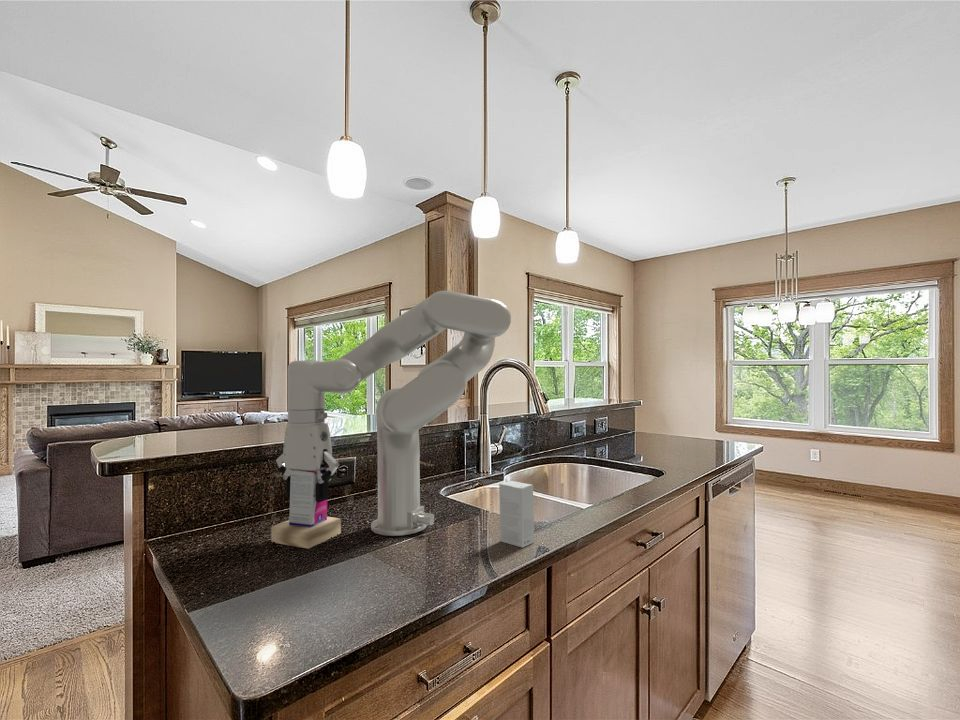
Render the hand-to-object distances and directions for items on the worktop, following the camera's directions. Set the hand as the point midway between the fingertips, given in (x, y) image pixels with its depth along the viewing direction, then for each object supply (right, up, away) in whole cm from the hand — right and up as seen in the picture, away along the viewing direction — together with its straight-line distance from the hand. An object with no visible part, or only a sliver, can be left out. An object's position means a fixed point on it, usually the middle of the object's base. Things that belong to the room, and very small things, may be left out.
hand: (307, 498), depth 106 cm
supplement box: (0, -5, 0) cm, 5 cm away
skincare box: (+45, -8, -4) cm, 46 cm away
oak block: (0, -9, 0) cm, 9 cm away
